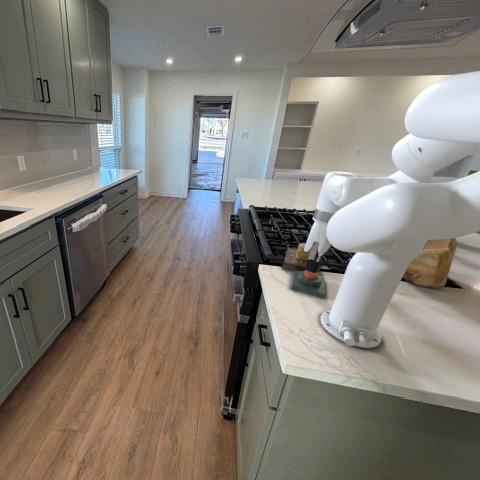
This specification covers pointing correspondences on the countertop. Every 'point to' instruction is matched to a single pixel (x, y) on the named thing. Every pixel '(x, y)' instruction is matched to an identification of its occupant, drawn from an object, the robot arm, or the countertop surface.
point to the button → (310, 275)
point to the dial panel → (293, 262)
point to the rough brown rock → (432, 263)
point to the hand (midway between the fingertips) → (311, 270)
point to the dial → (302, 253)
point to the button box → (308, 284)
